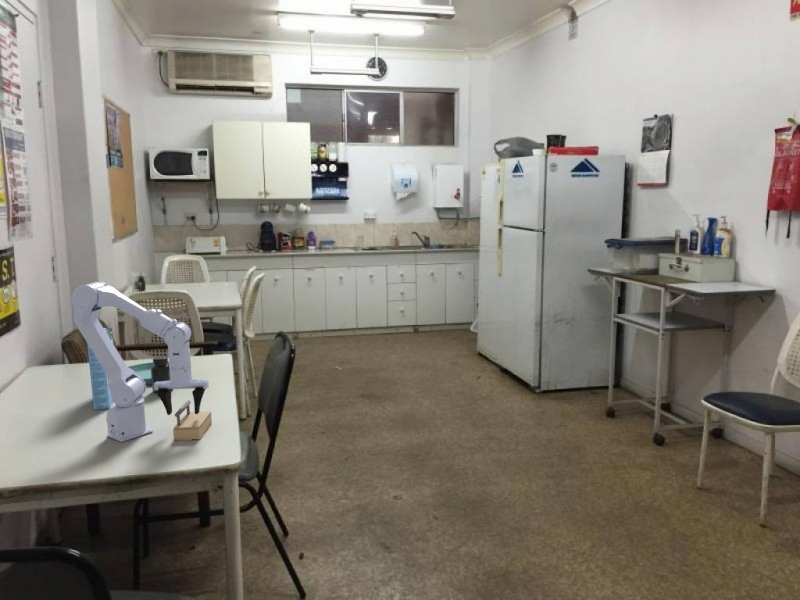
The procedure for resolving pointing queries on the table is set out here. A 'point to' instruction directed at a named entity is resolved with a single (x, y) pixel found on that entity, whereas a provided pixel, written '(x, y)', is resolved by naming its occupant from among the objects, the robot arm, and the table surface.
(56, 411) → the table surface
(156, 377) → the supplement bottle
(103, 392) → the gum box
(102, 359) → the robot arm
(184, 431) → the carton
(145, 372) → the saucer
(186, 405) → the lid
